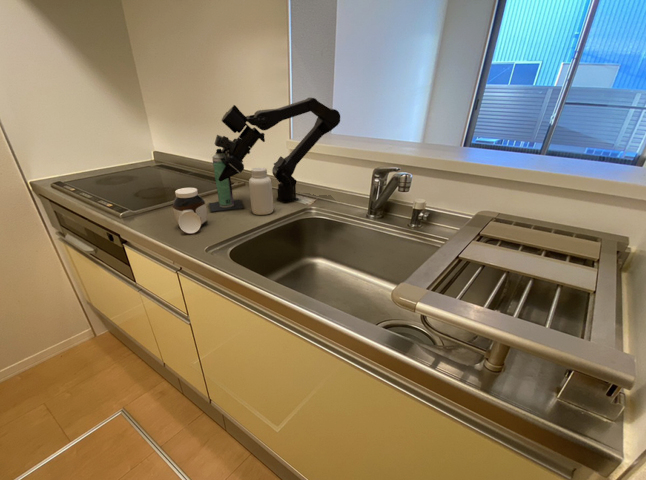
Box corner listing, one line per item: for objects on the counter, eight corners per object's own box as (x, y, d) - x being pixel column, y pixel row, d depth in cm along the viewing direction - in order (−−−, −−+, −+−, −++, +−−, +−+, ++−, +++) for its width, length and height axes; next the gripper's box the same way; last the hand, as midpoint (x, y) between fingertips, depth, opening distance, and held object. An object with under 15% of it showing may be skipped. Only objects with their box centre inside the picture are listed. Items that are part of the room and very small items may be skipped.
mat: (239, 200, 136) (239, 199, 136) (243, 208, 128) (243, 207, 128) (209, 204, 133) (209, 203, 133) (211, 212, 125) (211, 211, 125)
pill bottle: (254, 207, 129) (250, 166, 120) (275, 208, 128) (273, 166, 119) (249, 215, 122) (244, 171, 114) (271, 215, 121) (268, 172, 113)
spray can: (236, 204, 131) (229, 148, 120) (227, 208, 127) (219, 151, 116) (225, 202, 133) (217, 147, 122) (216, 206, 129) (207, 149, 118)
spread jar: (200, 218, 120) (193, 185, 113) (218, 226, 113) (212, 191, 107) (168, 228, 113) (159, 193, 106) (186, 237, 106) (178, 200, 100)
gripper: (223, 122, 123) (197, 157, 127) (229, 129, 109) (200, 168, 112) (247, 144, 130) (222, 177, 133) (256, 153, 115) (227, 190, 118)
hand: (218, 177), depth 124 cm, fingers open, 9 cm apart
